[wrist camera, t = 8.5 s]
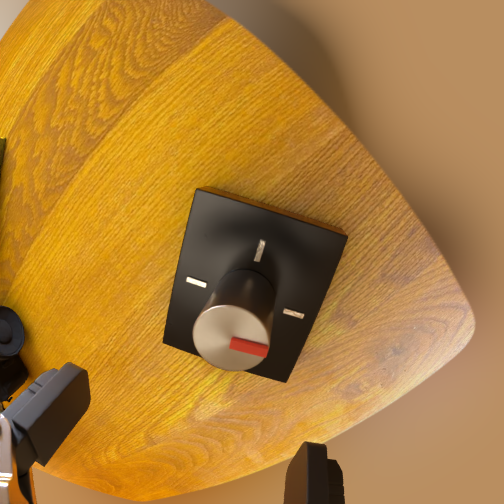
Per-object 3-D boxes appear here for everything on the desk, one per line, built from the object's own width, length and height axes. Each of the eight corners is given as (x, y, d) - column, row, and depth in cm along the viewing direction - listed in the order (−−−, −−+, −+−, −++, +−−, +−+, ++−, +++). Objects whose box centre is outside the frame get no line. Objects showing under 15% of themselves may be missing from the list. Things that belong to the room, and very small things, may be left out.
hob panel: (205, 185, 21) (195, 188, 19) (342, 228, 21) (349, 237, 18) (172, 327, 25) (161, 344, 22) (287, 365, 24) (286, 384, 22)
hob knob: (210, 315, 21) (186, 363, 16) (221, 262, 20) (196, 298, 14) (266, 330, 21) (258, 382, 15) (282, 278, 20) (278, 320, 14)
